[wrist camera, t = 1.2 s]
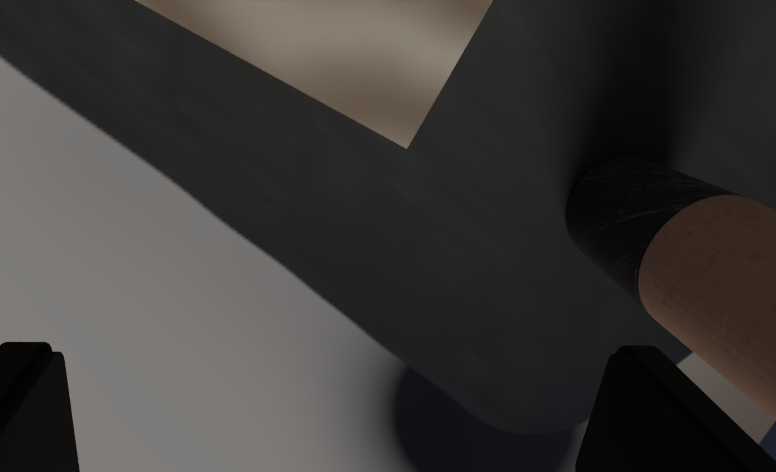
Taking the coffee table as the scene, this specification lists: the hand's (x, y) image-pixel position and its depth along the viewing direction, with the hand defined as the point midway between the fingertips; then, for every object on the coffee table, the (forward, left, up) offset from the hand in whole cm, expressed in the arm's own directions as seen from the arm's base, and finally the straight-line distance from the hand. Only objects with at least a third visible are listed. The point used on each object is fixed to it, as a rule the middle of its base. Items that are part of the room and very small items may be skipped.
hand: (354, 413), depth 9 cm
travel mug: (-5, +20, -24) cm, 32 cm away
